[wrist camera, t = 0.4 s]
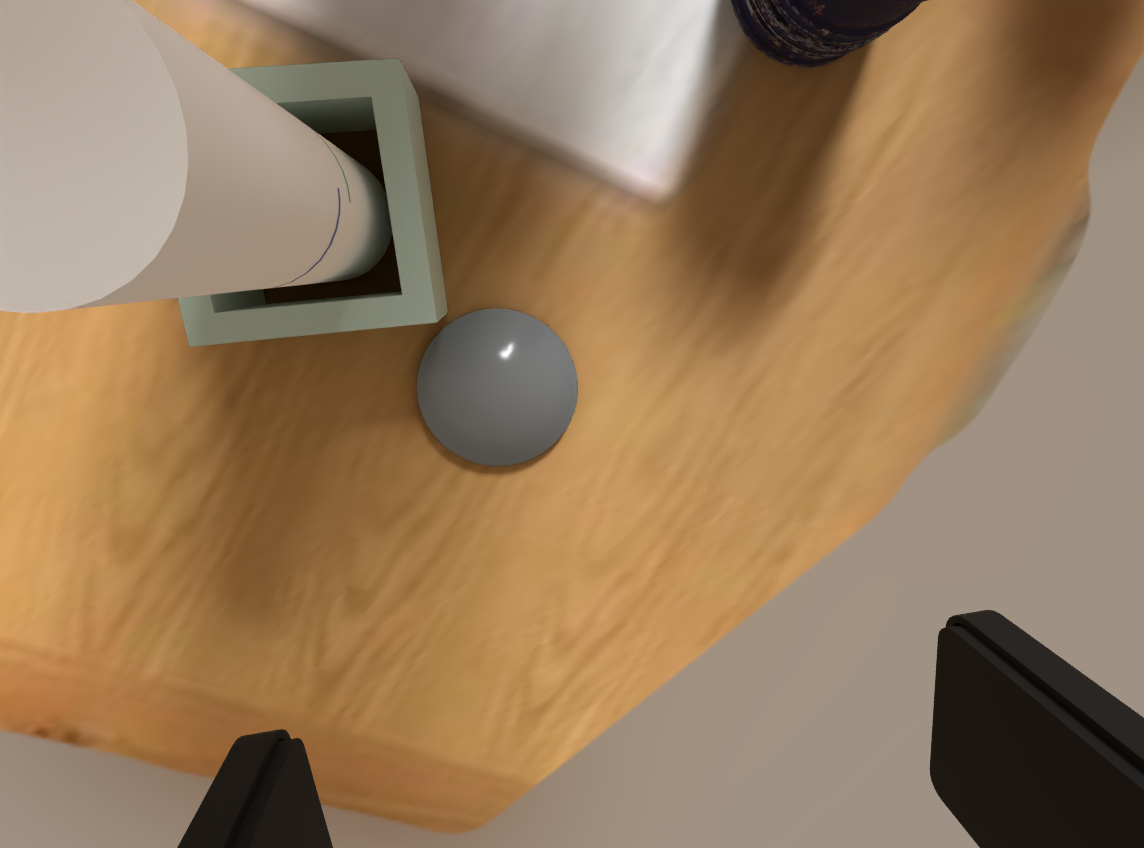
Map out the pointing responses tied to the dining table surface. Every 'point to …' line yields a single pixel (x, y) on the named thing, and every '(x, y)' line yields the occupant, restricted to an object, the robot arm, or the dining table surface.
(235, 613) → the dining table surface
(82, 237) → the cylindrical container
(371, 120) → the collar
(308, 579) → the dining table surface
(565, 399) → the grey round disc
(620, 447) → the dining table surface
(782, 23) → the storage jar
